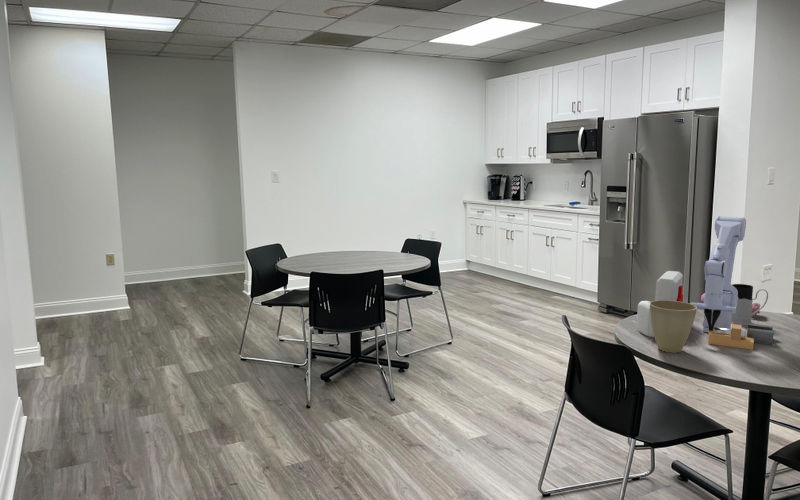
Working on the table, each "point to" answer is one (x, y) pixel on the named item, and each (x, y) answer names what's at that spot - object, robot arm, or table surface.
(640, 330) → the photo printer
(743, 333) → the axle
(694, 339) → the table surface
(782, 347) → the table surface
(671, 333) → the plant pot
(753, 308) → the pink lumpy figurine
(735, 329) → the bearing beam
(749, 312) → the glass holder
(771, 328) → the v-block
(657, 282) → the bevelled white case
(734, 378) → the table surface
